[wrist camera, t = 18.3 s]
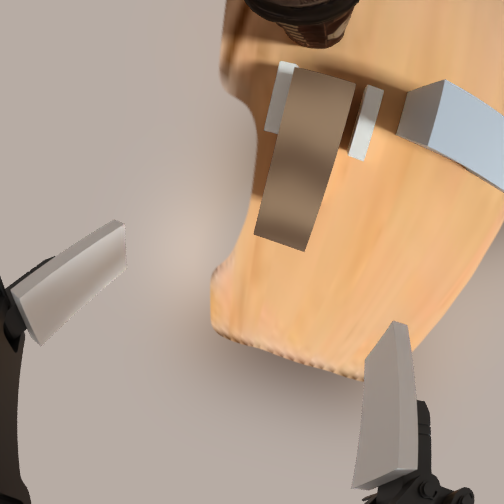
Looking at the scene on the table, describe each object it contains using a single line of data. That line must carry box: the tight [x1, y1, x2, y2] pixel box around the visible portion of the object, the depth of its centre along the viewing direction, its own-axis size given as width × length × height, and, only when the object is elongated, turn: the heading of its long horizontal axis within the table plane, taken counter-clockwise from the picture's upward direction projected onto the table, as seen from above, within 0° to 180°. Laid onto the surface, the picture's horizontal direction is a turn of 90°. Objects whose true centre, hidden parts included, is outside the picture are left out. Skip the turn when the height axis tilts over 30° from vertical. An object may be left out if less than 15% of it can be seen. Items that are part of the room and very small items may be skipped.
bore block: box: [396, 80, 504, 193], centre depth 17 cm, size 5×13×11 cm, turn 77°
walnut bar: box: [254, 67, 356, 252], centre depth 23 cm, size 14×4×8 cm, turn 167°
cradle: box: [264, 61, 384, 161], centre depth 25 cm, size 13×10×4 cm
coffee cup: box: [244, 0, 359, 49], centre depth 15 cm, size 9×8×13 cm
